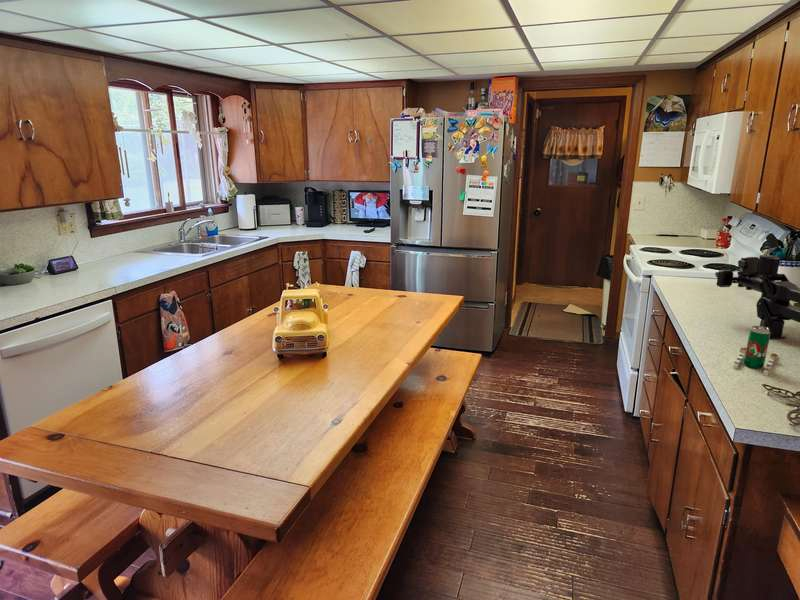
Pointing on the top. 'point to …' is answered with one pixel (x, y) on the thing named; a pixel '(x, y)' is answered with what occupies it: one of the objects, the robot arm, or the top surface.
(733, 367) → the fader track
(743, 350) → the tabs
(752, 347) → the soda can
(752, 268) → the robot arm
